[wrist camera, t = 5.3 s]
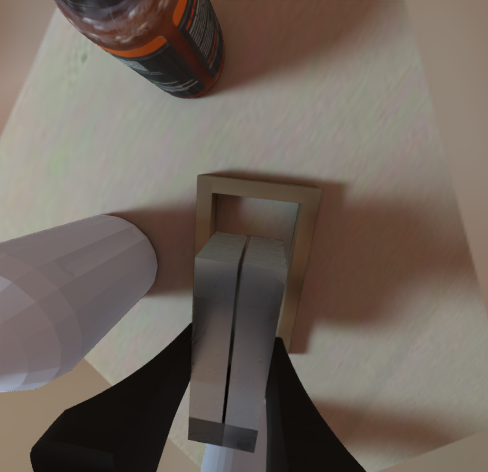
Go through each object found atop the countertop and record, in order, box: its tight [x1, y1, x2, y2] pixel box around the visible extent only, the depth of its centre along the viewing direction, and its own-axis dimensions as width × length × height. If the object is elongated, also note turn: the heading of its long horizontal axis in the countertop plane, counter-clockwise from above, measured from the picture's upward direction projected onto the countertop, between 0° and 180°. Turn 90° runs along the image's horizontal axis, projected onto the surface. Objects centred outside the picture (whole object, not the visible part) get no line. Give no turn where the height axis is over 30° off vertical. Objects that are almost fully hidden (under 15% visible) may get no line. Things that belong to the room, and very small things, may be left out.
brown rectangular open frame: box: [192, 174, 323, 353], centre depth 20 cm, size 17×9×2 cm, turn 174°
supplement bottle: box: [53, 0, 224, 99], centre depth 11 cm, size 6×6×11 cm
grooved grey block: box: [188, 231, 287, 453], centre depth 13 cm, size 12×4×4 cm, turn 174°
